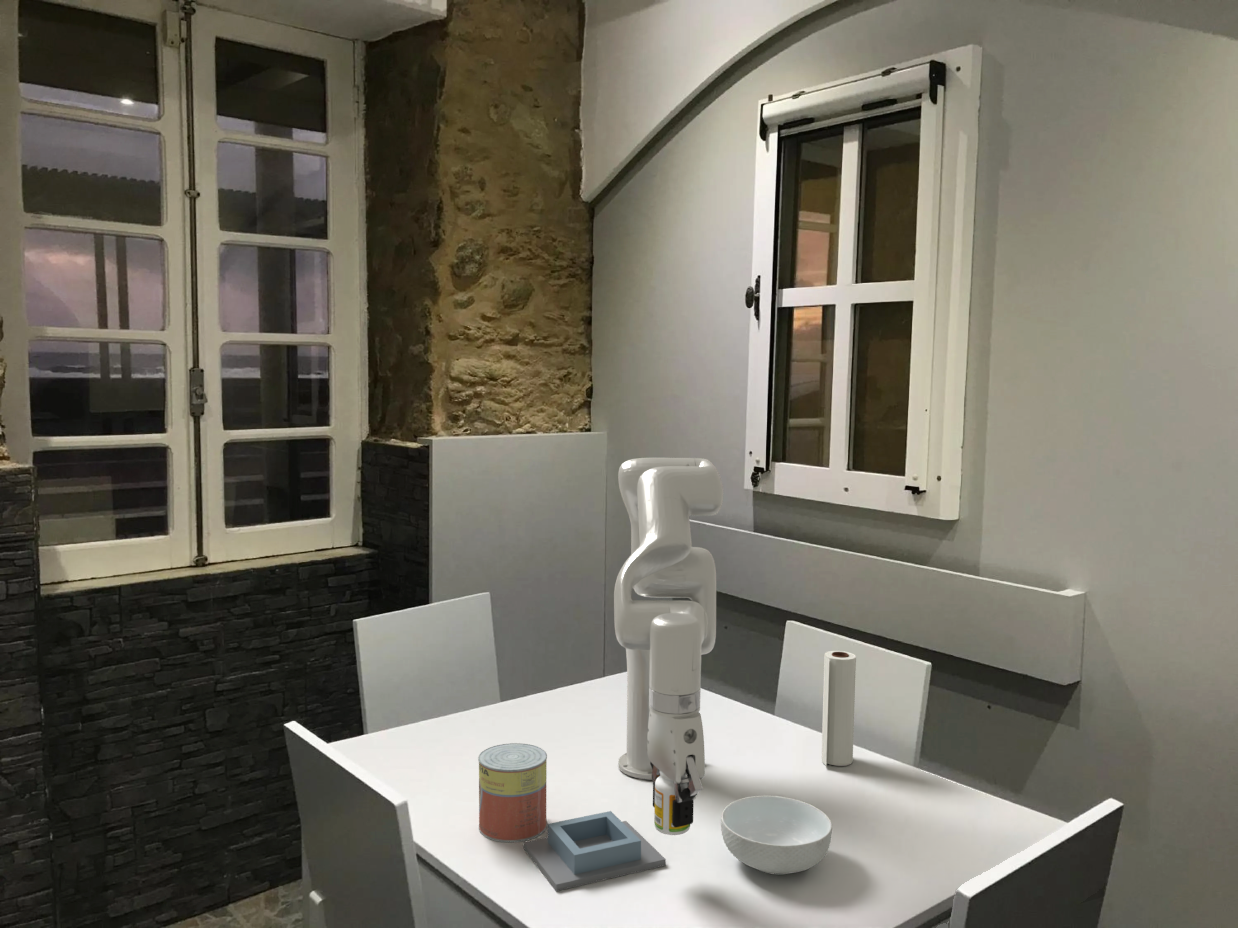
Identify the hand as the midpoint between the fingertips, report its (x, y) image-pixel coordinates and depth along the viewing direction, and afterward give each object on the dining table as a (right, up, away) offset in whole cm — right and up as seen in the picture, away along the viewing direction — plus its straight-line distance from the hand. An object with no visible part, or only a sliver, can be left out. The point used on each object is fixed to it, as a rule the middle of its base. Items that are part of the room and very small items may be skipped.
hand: (672, 813), depth 144 cm
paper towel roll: (+34, -6, +45) cm, 57 cm away
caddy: (-12, -9, +6) cm, 16 cm away
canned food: (-26, -8, +17) cm, 32 cm away
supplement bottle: (0, -2, 0) cm, 2 cm away
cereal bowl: (+16, -10, +5) cm, 20 cm away
